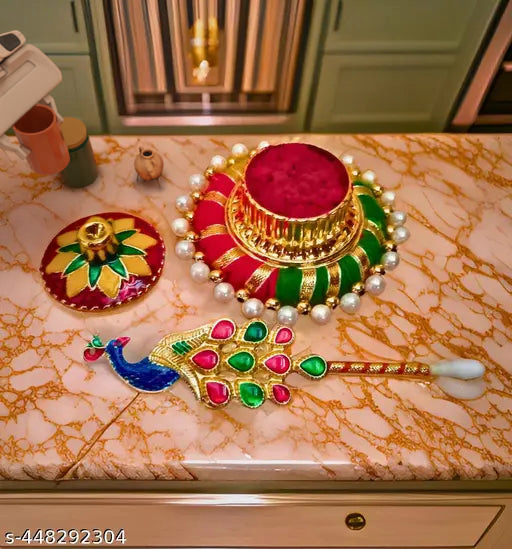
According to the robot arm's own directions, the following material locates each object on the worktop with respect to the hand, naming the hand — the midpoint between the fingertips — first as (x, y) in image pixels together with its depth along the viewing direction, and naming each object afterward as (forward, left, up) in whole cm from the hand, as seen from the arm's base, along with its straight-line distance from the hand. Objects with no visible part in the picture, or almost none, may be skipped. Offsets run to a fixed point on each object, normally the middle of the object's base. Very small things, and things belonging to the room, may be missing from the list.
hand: (44, 140), depth 92 cm
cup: (0, 0, -5) cm, 5 cm away
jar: (+6, +14, -24) cm, 29 cm away
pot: (+18, +6, -25) cm, 31 cm away
